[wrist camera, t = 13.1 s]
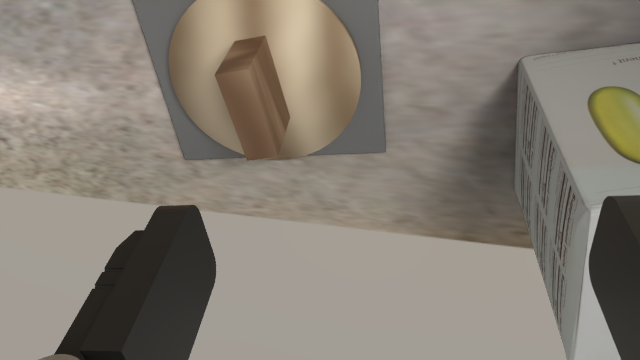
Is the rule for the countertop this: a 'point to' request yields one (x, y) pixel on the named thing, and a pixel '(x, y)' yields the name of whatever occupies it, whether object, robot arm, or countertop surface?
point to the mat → (358, 137)
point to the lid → (266, 74)
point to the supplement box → (576, 173)
